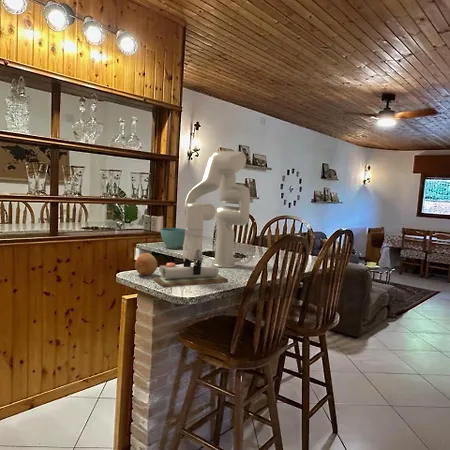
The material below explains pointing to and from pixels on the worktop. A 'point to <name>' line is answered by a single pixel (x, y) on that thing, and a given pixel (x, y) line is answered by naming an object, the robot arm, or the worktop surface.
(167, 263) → the button
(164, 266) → the button housing
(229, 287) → the worktop surface
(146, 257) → the onion
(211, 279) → the board
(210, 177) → the robot arm
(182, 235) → the plant pot
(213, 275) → the tube
